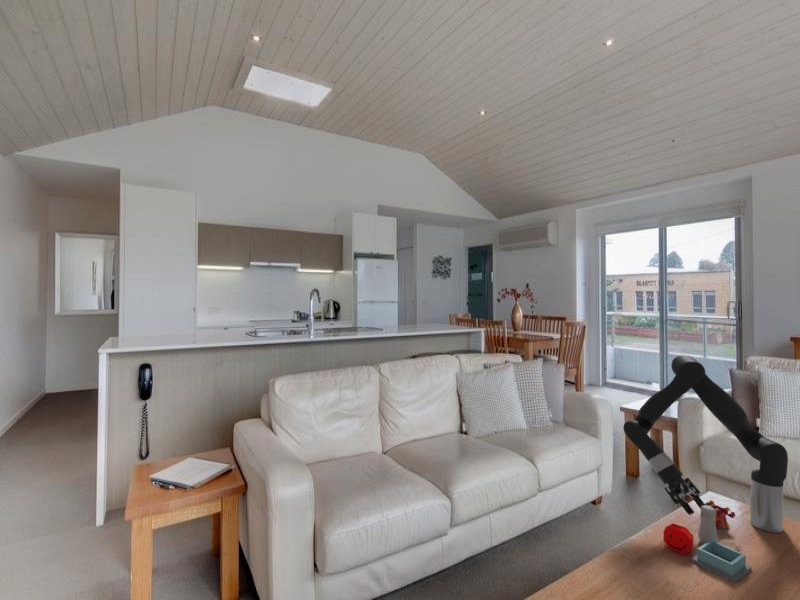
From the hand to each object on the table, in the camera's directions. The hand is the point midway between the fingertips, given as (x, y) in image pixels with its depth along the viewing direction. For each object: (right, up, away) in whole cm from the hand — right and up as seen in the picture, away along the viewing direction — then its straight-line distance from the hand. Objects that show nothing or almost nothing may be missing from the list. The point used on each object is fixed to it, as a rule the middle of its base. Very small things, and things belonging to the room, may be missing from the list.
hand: (697, 510), depth 150 cm
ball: (-11, -10, -6) cm, 17 cm away
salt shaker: (+2, -10, -3) cm, 11 cm away
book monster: (+13, -10, +6) cm, 17 cm away
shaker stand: (-3, -10, -15) cm, 18 cm away
